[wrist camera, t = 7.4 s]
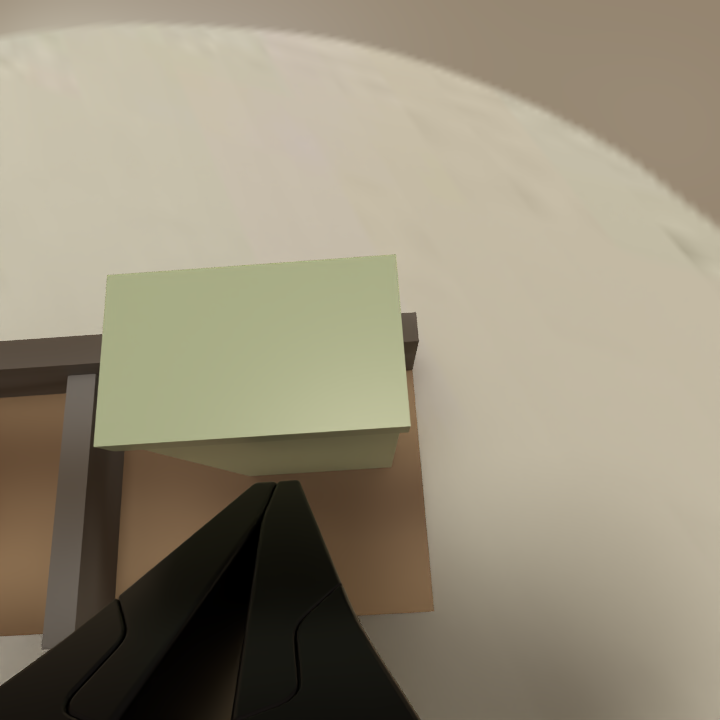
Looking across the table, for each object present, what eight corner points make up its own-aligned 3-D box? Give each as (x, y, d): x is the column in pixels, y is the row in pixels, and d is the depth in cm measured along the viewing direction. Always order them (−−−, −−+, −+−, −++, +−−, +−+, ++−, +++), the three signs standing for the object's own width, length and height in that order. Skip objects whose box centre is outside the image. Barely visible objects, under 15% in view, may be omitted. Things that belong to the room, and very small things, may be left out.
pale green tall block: (394, 470, 15) (410, 425, 7) (246, 479, 16) (93, 446, 7) (388, 384, 16) (395, 254, 8) (246, 393, 16) (107, 274, 8)
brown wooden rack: (429, 601, 16) (452, 647, 11) (-174, 637, 17) (-436, 697, 11) (406, 342, 18) (416, 275, 13) (-123, 378, 19) (-319, 327, 14)
